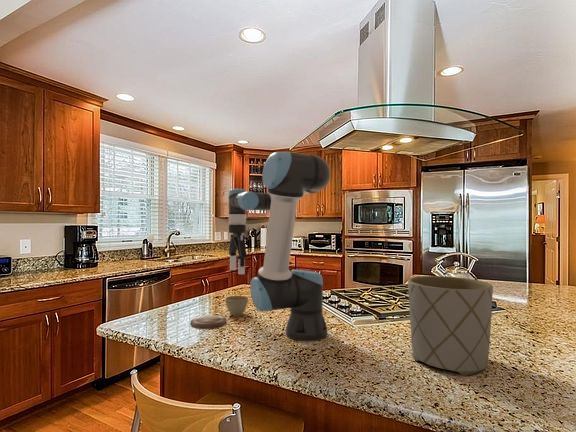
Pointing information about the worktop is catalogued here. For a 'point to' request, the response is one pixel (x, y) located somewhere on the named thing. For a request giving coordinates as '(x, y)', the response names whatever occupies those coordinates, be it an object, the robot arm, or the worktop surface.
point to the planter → (450, 322)
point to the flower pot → (236, 304)
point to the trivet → (208, 321)
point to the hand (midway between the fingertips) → (237, 272)
